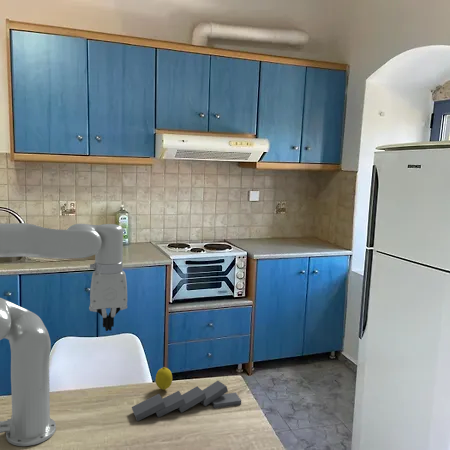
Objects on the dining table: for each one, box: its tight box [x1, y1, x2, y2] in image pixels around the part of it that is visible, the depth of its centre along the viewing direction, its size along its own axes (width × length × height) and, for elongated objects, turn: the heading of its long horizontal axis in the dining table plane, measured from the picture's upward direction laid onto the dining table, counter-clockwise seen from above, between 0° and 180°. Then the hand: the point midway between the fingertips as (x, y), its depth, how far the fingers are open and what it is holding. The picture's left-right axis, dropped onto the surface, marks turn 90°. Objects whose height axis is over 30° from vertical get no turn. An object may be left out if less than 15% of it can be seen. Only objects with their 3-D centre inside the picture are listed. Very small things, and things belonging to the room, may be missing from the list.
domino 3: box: [177, 386, 206, 413], centre depth 142 cm, size 2×5×9 cm
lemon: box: [155, 366, 173, 391], centre depth 151 cm, size 6×6×8 cm
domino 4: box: [199, 380, 229, 407], centre depth 146 cm, size 2×5×9 cm
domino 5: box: [210, 392, 242, 409], centre depth 146 cm, size 2×5×9 cm
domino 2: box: [154, 390, 185, 419], centre depth 139 cm, size 2×5×9 cm
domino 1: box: [131, 393, 165, 422], centre depth 136 cm, size 2×5×9 cm
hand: (108, 329), depth 132 cm, fingers closed
